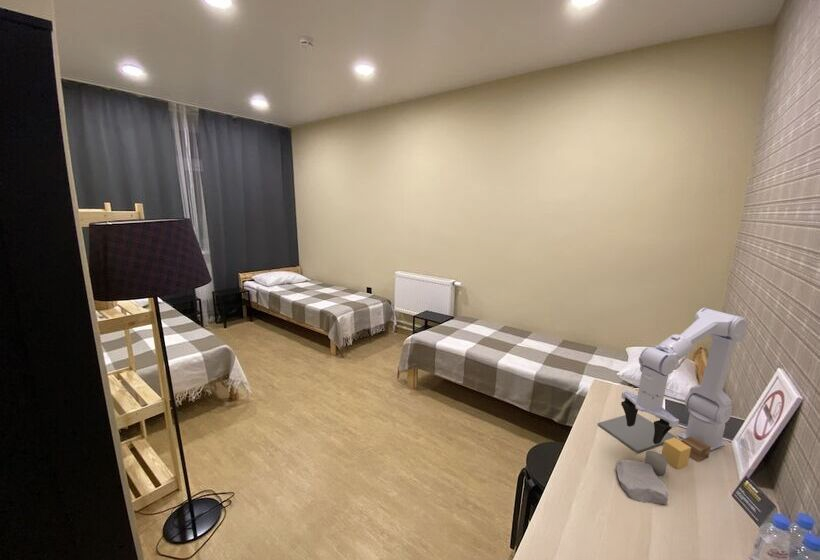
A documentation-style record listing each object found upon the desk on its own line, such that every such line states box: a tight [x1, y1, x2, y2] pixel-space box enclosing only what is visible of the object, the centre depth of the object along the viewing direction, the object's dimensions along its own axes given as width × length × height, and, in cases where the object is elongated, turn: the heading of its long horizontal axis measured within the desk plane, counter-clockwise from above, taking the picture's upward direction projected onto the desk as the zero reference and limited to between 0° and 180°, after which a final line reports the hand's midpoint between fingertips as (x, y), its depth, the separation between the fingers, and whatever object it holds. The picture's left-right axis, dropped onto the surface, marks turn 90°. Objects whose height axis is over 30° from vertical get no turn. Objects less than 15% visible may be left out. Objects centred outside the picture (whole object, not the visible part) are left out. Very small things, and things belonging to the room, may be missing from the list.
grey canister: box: [643, 450, 668, 477], centre depth 95 cm, size 5×5×4 cm
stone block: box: [615, 459, 669, 505], centre depth 90 cm, size 12×5×10 cm
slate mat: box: [597, 413, 678, 454], centre depth 111 cm, size 18×14×1 cm
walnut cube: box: [680, 436, 711, 463], centre depth 101 cm, size 5×5×4 cm
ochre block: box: [661, 437, 691, 470], centre depth 98 cm, size 4×4×6 cm
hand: (643, 433), depth 95 cm, fingers open, 7 cm apart
